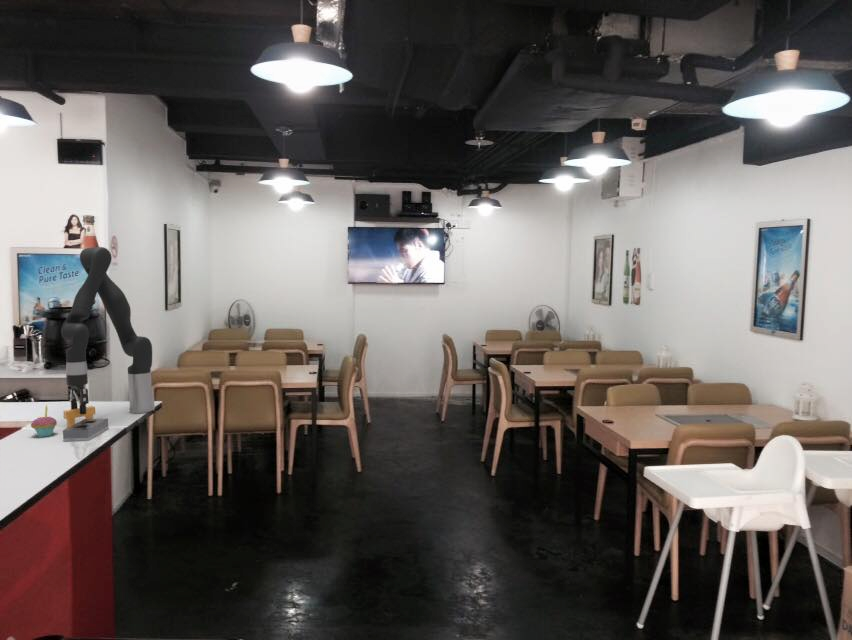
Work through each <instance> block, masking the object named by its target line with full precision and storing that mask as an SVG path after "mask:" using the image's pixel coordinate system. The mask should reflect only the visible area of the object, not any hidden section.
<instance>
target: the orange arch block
mask: <svg viewBox="0 0 852 640" xmlns="http://www.w3.org/2000/svg"><path fill="white" fill-rule="evenodd" d="M62 412H63V419H65V420H66V425H67V426H66V429H67V428H69V427H71V426H72V425H74V424H76V420H75V419H76V418H83V417H84V419H94V416H95V415H96V414H97V413H96V407H95V406H93V405H91V406H90V405H89V406H86V414H82V415H81V414H80V407H78V409H72V410H71V409H68V410H67V409H66V410H63V411H62Z"/></svg>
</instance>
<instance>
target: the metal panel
mask: <svg viewBox="0 0 852 640" xmlns="http://www.w3.org/2000/svg"><path fill="white" fill-rule="evenodd" d="M107 428H108V429H109V418H93V419H85V418H83V419H82V420H80V421H78V422H75V424H74V425H72V426H71V427H69V428H67V427H66V429H64V430H62V438H63V439H62V440H63V442H82V441H84V442H85V441H90V440H92V439H94V438H95V437H97V436H98V435H100V434H101V433H103V432H105V431H107Z"/></svg>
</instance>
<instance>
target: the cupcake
mask: <svg viewBox="0 0 852 640" xmlns="http://www.w3.org/2000/svg"><path fill="white" fill-rule="evenodd" d="M44 408H45V412H44V416H42V417H37V418H36V419H34V420H33V421H31V423H30V427H31V429H34V430H35V432H36V434H37V437H38V438H44V437H50V436H52V435H53V434H54V429H55V427H56V425H58V422H57V419H55V418H54V417H51V416H48V404H46V406H45V407H44Z"/></svg>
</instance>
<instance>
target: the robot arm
mask: <svg viewBox="0 0 852 640" xmlns="http://www.w3.org/2000/svg"><path fill="white" fill-rule="evenodd" d="M112 259H113V258H112V254H111V252H110V250H108V248H106V247H103V246H97V247H95V246H93V247H86V248H83V249H82V250H81V252H80V254H79V260H80V264H81V266H82V267H83V269H84V271H85V272H86V274H87V277H86V279H85V281H84V282H83V284H82V285H81V286H80V288H79V289H78V291H77V293H76V294H75V297H74V299H73V302H72V306H71V309H70V312H69V313H68V315H67V317H66V318H65V320H64V322H63V324H62V326H61V329H60V333H61V336H62V338H63V339H64V340H66V341H71V342H72V343H71V346H69V347H68V348H66V350H65V357H66V358H65V361H66V362H65V363H66V365H65V375H66V376H65V377H66V378H65V379H66V386H67V400H68V401H69V402H70V410H72V409H78V408H80V414H81V415H82V414H86V407H87V405H88V404H89V403H90V402H89V391H88V390H89V389H88V388H85V387H84V386H85V385H87V384H88V383H89V380H88V363H87V354H86V350H87V348H88V343H89V338H90V331H89V328H88V327H87V325H86V324H85V323H82V322H83V321H85V320H87V319H89V317H90V316H91V312H92V310H93V307H94V303H95V300H96V296H97V294H98V296H99V298H100V300H101V302H102V305H103V307H104V309H105V311H106V313H107V315H108V316H109V319H110V321H111V323H112V325H113V327H114V329H115V331H116V334H117V337H118V340H119V342H120V345H121V347H122V351H123V352H124V354H125V355H127V356H129V357H132V364H131V365H129V366H128V367H127V376H128V377H127V379H128V399H129V413H130V414H143V413H150V412H152V411H155V396H154V395H155V391H154V388H152V373H151V370H152V369H151V368H152V366H153V346H152V342H151V340H150V339H149V338H148V337H146V336H139V335H137V333H136V332H135V330H134V328H133V325H132V321H131V316H132V314H131V311H132V309H131V305H130V303H129V301H128V298H127V296H126V295H125V293H124V292H123V291H122V289H121V288H120V287H119V286H118V285H117V284H116V283H115V282H114V281H113V280H112V279H111V278H110V276H109V275H108V274H107V272H108V271H109V268H110V265H111V263H112ZM78 405H79V407H78Z"/></svg>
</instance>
